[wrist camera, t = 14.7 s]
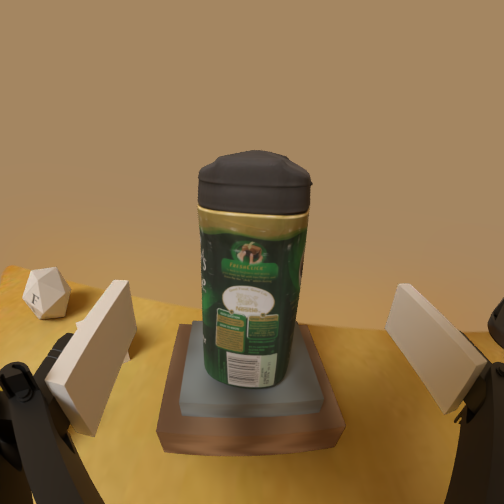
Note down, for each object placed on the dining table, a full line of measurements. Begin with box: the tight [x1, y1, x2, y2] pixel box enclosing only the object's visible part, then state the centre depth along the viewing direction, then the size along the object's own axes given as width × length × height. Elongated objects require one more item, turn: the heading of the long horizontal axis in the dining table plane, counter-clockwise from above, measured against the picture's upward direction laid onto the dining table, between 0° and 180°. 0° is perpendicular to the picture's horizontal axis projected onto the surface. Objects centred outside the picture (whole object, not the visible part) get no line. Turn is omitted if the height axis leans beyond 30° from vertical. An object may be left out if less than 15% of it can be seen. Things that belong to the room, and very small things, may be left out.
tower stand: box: [156, 321, 346, 456], centre depth 27 cm, size 16×16×6 cm
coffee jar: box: [197, 150, 312, 389], centre depth 22 cm, size 10×8×19 cm
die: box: [23, 267, 71, 319], centre depth 36 cm, size 8×9×10 cm
